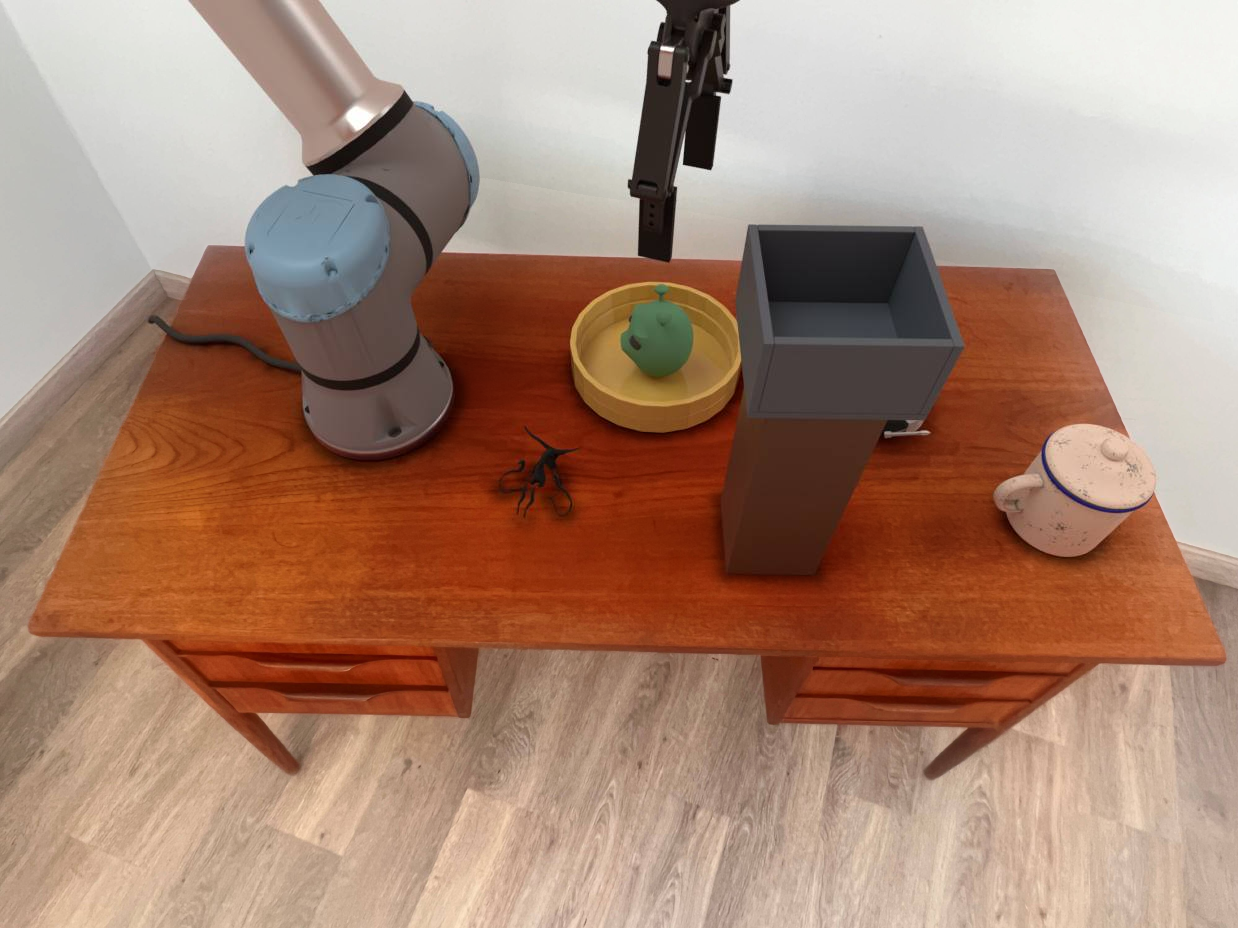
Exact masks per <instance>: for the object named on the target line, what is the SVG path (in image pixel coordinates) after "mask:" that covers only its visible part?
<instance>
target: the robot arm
mask: <svg viewBox="0 0 1238 928" xmlns="http://www.w3.org/2000/svg"><path fill="white" fill-rule="evenodd" d="M655 1H656V2H658V3H659V4H660V5H661V6H662V7H663V8H664V9H665V14H666V15H665V20H664V21H660V24H659V26H658V30H657V36H656V40H651V41H650V43H649V45H648V48H647V52H646V53H647V62H646V80H645V86H644V87H645V88H644V94H643V100H642V107H641V115H640V121H639V122H640V123H639V129H638V134H637V143H636V148H635V154H634V162H633V169H632V175H631V179H630V178H628V179H627V189H628V190H629V196H630V198H635V199H638V200H639V201H638V202H639V203H638V230H637V231H638V235H637V256H638V257H641V258H646V259H650V260H654V261H659V262H663V263H667V264H668V263H670V262H671V260H672V258H673V248H674V235H675V222H676V221H675V220H676V209H677V198H678V197H677V195H678V186H675V180H676V175H677V171H678V166H679V162H680V157H681V154H682V153H681V152H682V148H683V156H682V166H686V167H691V168H696V169H702V170H707V171H712V169H713V168H714V162H715V152H716V145H717V137H718V129H719V121H720V111H721V103H722V102H721V101H722V96H721V95H717V93H720V94H724V95H730V94H731V92H732V89H733V88H732V86H733V78H728V77H725V75H726V76H727V75H728V72H729V71H730V70H731V63H730V62H731V6H732V5H734V4H736V3H738V2H740V1H741V0H655ZM187 2H189V3H190V5H191V6H192V7H193V8H194V9H195V10H196V12H197V13H198V14H199V15H200V17H201V18H202V19H203V20H204V21H205V23H207V25H208V26H209V27H210V29H211V30H212V31H213V32H214V33H215V34H216V35H217V37H218V38H219V40H220V41H222V43H223V44H224V45H225V46H226V48H227V49H228V50H229V52H230V53H232V55H233V56H234V57H235V58H236V60H237V61H238V62H239V63H240V64H241V66H242V67H243V68H244V69H245V71H247V73H248V74H249V75H250V77H252V79H253V80H254V81H255V82H256V83H257V85H258V86H259V87H260V88H261V90H262V91H263V92H264V93H265V94H266V96H267V97H268V98H269V99H270V100H271V102H272V103H273V104H274V105H275V106H276V108H277V109H278V110H279V111H280V112H281V114H283V116H284V117H285V118H286V120H287V121H288V122H289V123H290V124H291V125H292V126H293V128H294V129H295V130H296V132H297V133H298V134H299V135H300V138H301V163H302V164H303V165H304V166H305V168H306V169H307V170H308V171H309V172H310V174H311V175H310V176H306V177H302V178H299V179H298V180H297V183H296V184H295V185H294V186H289V185H288V184H285V185H282V186H281V187H279V188H278V189H276V190H275V191H273V192H272V193H271V194H270V195H268V196H266V198H265V199H264V200H262V202H261V203H260V204H259V205H258V206H257V207H256V209H255V210H254V212H253V213H252V214H251V216H250V218H249V221H248V224H247V227H246V230H245V235H244V251H245V252H244V253H245V257H246V259H247V263H248V264H249V267H250V269H251V271H252V276H253V278H254V279H253V280H254V283H255V286H256V289H257V291H258V293H259V295H260V297H261V298H262V299H263V302H265V304H266V305H267V306H268V308H269V310H270V312H271V314H272V316H273V318H274V319H275V321H276V323H277V325H278V328H279V329H280V331H281V332H282V334H283V337H284V338H285V340H286V343H287V344H288V346H289V348H290V351H291V352H292V354H293V356H294V359H295V360H296V362H294V361H289V360H284V359H279V358H276V357H274V356H271V355H269V354H267V353H265V352H264V351H262V350H261V349H260V348H259V347H258V346H256V345H255V344H254V343H252V342H251V341H250V340H248V339H246V338H244V337H241V336H238V335H233V334H225V333H219V334H218V333H215V334H202V335H192V334H191V335H190V334H186V333H185V334H184V333H182V332H178V331H177V330H175V329H173V327H171V326H170V325H169V324H168V323H167V322H166V321H164V319H163V318H161V317H160V316H158V315H156V314H152V315H150V316H149V317H148V319H147V323H148V324H151V325H154V324H155V325H157V327H159V329H160V330H162V331H163V332H164V333H165V334H167V335H168V336H169V337H171V338H172V339H174V340H176V341H179V342H182V343H189V344H205V343H206V344H207V343H231V344H236V345H238V346H241V347H243V348H245V349H247V350H248V351H249V352H250V353H252V354H253V355H254V356H255V357H256V358H258V359H259V360H260V361H263V362H264V363H266V364H268V365H271V366H274V367H277V368H281V369H285V370H290V371H296V372H298V373H301V391H302V410H303V415H304V419H305V422H306V423H307V425H308V427H309V430H310V431H311V433H312V435H313V436H314V438H315V439H316V440H317V442H319V443H320V444H321V446H323V447H324V448H325V449H327V450H328V451H330V452H332V453H334V454H336V455H337V456H341V457H343V458H347V459H351V460H358V461H378V460H379V461H380V460H387V459H390V458H394V457H398V456H401V455H404V454H407V453H410V452H412V451H413V450H416V449H417V448H419V447H421V446H422V445H424V444H426V443H427V442H428V441H430V440H431V439H432V438H433V437H434V436H435V435H437V433H438V432H439V431H440V430H441V429H442V428H443V427H444V426H445V424H446V423H447V421H448V420H449V417H450V416H451V414H452V412H453V410H454V409H453V408H454V405H455V398H456V395H455V393H456V392H455V386H454V381H453V379H452V375H451V372H450V369H449V367H448V366H447V364H446V363H445V361H444V359H443V358H442V357H441V355H439V353H438V352H437V351H436V350H434V348H436V345H435V344H434V343H433V342H432V341H431V340H430V339H429V338H427V337H426V336H425V335H424V334H422V333H421V332H420V330H419V326H418V323H417V319H416V316H415V313H414V312H415V311H414V309H413V306H412V296H413V294H414V292H415V291H416V290H417V288H418V287H419V285H420V284H421V283H422V281H423V279H424V278H425V277H426V275H427V274H428V273H429V271H430V270H431V268H432V267H433V265H434V264H435V263H436V261H437V260H438V259H439V257H440V255H441V254H442V253H443V251H444V250H445V248H446V247H447V246H448V244H449V243H450V241H451V240H452V239H453V237H454V235H456V233H458V231H459V230H460V229H461V228H462V227H463V226H464V224H465V223H466V222H467V219H468V217H469V214H470V212H471V209H472V207H473V205H474V203H475V202H476V201H477V197H478V194H479V191H480V190H479V189H480V181H481V180H480V179H481V177H480V176H481V175H480V166H479V162H478V157H477V155H476V152H475V150H474V148H473V145H472V143H471V141H470V139H469V137H468V136H467V134H466V133H465V131H464V130H463V129H462V127H461V126H460V125H459V124H458V122H456V121H455V120H454V119H453V117H451V116H450V115H449V114H448V113H447V112H445V111H443V110H440V111H438V110H435V107H434V106H433V105H432V104H430V103H427V102H424V101H418V100H413V99H412V98H411V97H410V95H409V94H408V93H407V91H406V90H405V88H404V87H403V86H402V85H401V84H399V83H395V82H391V81H386V80H383V79H380V78H378V77H376V76H375V75H374V74H373V72H372V71H371V70H370V68H369V67H368V65H367V64H366V63H365V61H364V60H363V58H362V57H361V56H360V54H359V53H358V52H357V50H356V49H355V47H354V46H353V45H352V43H351V42H350V40H349V39H348V38H347V37H346V35H345V34H344V33H343V31H342V29H341V28H340V27H339V25H338V24H337V23H336V22H335V20H334V19H333V18H332V16H331V15H330V13H329V11H327V9H326V8H325V6H324V5H323V3H322V2H321V1H320V0H187Z"/></svg>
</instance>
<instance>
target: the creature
mask: <svg viewBox="0 0 1238 928" xmlns="http://www.w3.org/2000/svg"><path fill="white" fill-rule="evenodd" d="M523 428H524V430H525V432H526V433H527V434H528V435H529V437H531V438H532V439H533V440H535V441H537V443H539V444H540V445H541V446H543V448H544V449H545V450H544V451H543V453H542V454H541V457H540V458H539V460H538V461H537V462H536V463H535V465H533V467H532V470H530V471H529V473H530V474H528V475H525V476H524V480H523V482H525V480H526V478H527V477H530V476H531V478H530V480H529V481H527V482H526V483H523V487H518V488H517V487H516V488H513V489H510V490H508V491H504V490H503V489H502V488H501V482H502V479H503V477H505V476H507V475H510V474H513V473H522V472H523V471H524V469H525V467H526V461H525V460H524V459H520V460H518V462H517V465H520V466H519V467H518V468H516V469H511V470H509V471H506V472H505V473H503V474H502V476H501V477H500V478H499V480H498V487H499V491H500V492H501V493H503V494H508V493H511V492H513V491H517V490H522V491H521V495H520V496H521V497H520V498H519V500H518V502H517V507H516V514H515V515H516V516H518V515H519V512H520V507H521V504H522V503H523V502H524V500H525V499H526V492H527V490H528V488H527V487H528V484H530V485H532V486H533V487H532V489H531V491H530V495H529V496H530V498H529V502H528V503H527V504H526V506H525V508H524V512H523V517H522V518H523V519H525V518H526V515H527V511H528V509H529V508H530V507H531V506H533V504H534V502H535V493H536V492H535V491H536V488H537V487H538V488H539V489H542V488H543V487H544V486H545V485H546V480H547V479H546V478H547V477H546V473H545V465H546V467H547V469H548V470H549V471H553V470H555V469H556V471H557V473H556V471H555V472H552V474H551V478H552V479H554V485H555V486H556V487H557V488H558V492H557V493H556V494H555V496H557V495H558V494H560V492H561V491H562V492H563V493H564V494H565V495H566V498H567V499H568V501H569V502H570V504H569V508H568V510H567V511H566V512H565V514H560V513H558V509H557V506H556V504H555V502H554V501H553V497H554V495H553V496H547V499H548V500H549V501H550V502H551V503H552V504H553V507H554V510H555V512H556V515H558V516H560V517H564V516H567V515H568V514H569V513H570V512H571V510H572V508H573V500H572V498H571V496H570V493H569V492H568V490H566V488H563V487H562V486H563V479H562V475H561V472H560V469H559V466H558V464H557V462H556V461H557V459H558V458H559V457H560V456H564V455H565V454H568V453H572V452H576V451H577V450H580V449H581V448H582V446H579V447H576V448H566V449H565V448H564V449H559V448H555V447H552V446H551V445H549V444H548V443H547V442H545V440H544V441H543V440H542V439H541V438H540V437H538V436H536V435H534V434H533V433H532V432H531V431H530V430H529V429H528V427H527V426H526V425H524V426H523ZM535 484H536V485H535ZM534 485H535V486H534Z"/></svg>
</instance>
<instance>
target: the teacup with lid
mask: <svg viewBox="0 0 1238 928" xmlns="http://www.w3.org/2000/svg"><path fill="white" fill-rule="evenodd" d="M1156 487H1157V474H1156V470H1155V467H1154V464H1153V462H1152V461H1151V459H1150V458H1149V456H1148V454H1147V453H1146V452H1145V451H1144V450H1143V448H1142V447H1141V446H1139V444H1137V443H1136V442H1135V441H1133V440H1132V439H1131V438H1129V437H1127V436H1126V435H1124V434H1123V433H1121V432H1119V431H1117V430H1114V429H1112V428H1109V427H1107V426H1102V425H1099V424H1092V423H1075V424H1070V425H1065V426H1064V427H1063V426H1062V427H1061V428H1059V429H1057V430H1055V431H1054V432H1052V433H1050V434H1049V436H1048V437H1046V439H1045V441H1044V442H1043V444H1042V448H1041V450H1040V452H1039V453H1038V454H1037V455H1036V457H1035V458H1034V459H1033V460H1032V462H1031V463H1030V464H1029V466H1028V467H1027V468H1026V470H1025V471H1024V472H1023V474H1021V475H1020V474H1019V475H1017V476H1014V477H1013V476H1012V477H1010V478H1008V479H1006V480H1004V481H1002V482H1001V483H1000V484H999V485H998V486H997V487H996V488H995V490H994V492H993V497H992V498H993V501H994V504H995V506H996V508H997V509H999V510H1000V511H1002V512H1005V513H1006V517H1007V520H1008V522H1009V524H1010V526H1011V527H1012V528H1013V530H1014V531H1015V532H1016V534H1017V535H1018V536H1019V537H1020V538H1021V539H1022V540H1023V541H1024V542H1026V543H1027V544H1028V545H1030V546H1031V547H1033V548H1035V549H1037V550H1038V551H1041V552H1042V553H1045V554H1048V555H1052V556H1056V557H1061V558H1063V557H1065V558H1073V557H1078V556H1082V555H1085V554H1087V553H1089V552H1091V551H1093V550H1094V549H1095V548H1096V547H1097V546H1098V545H1099V544H1100V543H1102V541H1103V540H1105V538H1106V537H1107V536H1109V535H1110V534H1111V533H1112V532H1113V531H1114V530H1115V529H1116V528H1117V527H1119V526H1120V524H1122V523H1123V522H1124V521H1125V520H1126V519H1127V518H1128V517H1129V516H1130V515H1131V514H1133V512H1135V511H1137V510H1139V509H1141V508H1143V507H1145V506H1146V505H1147V504H1148V503H1149V502H1150V501H1151V499H1152V498H1153V495H1154V494H1155V490H1156Z"/></svg>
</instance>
